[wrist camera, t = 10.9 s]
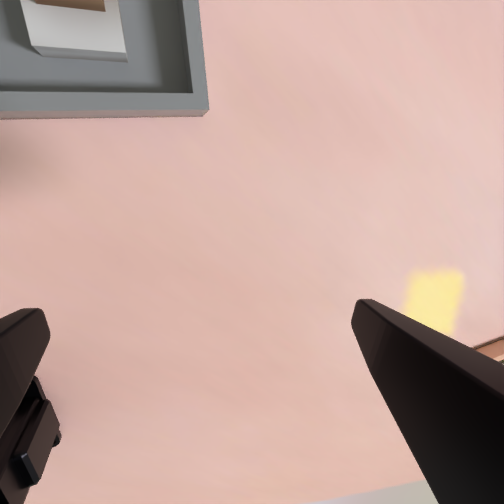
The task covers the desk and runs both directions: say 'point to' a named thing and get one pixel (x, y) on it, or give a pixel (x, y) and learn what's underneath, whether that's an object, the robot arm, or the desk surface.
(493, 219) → the desk surface
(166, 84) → the tray
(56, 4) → the wooden post on base
